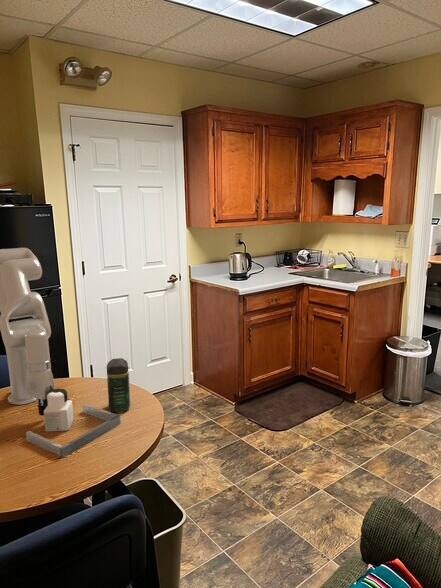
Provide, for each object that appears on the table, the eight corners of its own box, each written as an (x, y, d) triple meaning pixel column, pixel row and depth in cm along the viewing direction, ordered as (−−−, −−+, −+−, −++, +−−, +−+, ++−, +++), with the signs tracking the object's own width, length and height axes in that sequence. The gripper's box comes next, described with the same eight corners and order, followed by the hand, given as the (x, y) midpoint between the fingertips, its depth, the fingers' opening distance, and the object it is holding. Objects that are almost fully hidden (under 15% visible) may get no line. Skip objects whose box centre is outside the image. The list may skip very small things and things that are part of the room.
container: (51, 420, 159) (48, 386, 156) (74, 419, 160) (71, 385, 157) (45, 431, 151) (41, 396, 149) (68, 430, 152) (65, 395, 149)
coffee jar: (130, 412, 165) (127, 364, 161) (108, 414, 163) (105, 366, 159) (130, 400, 174) (127, 355, 170) (109, 402, 172) (106, 357, 168)
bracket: (26, 440, 146) (25, 432, 146) (85, 410, 166) (84, 403, 166) (63, 457, 137) (62, 448, 136) (120, 423, 157) (120, 415, 156)
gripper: (16, 364, 156) (22, 413, 160) (43, 373, 148) (48, 423, 152) (35, 358, 163) (40, 404, 166) (61, 366, 155) (66, 414, 158)
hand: (44, 413), depth 159 cm, fingers closed
